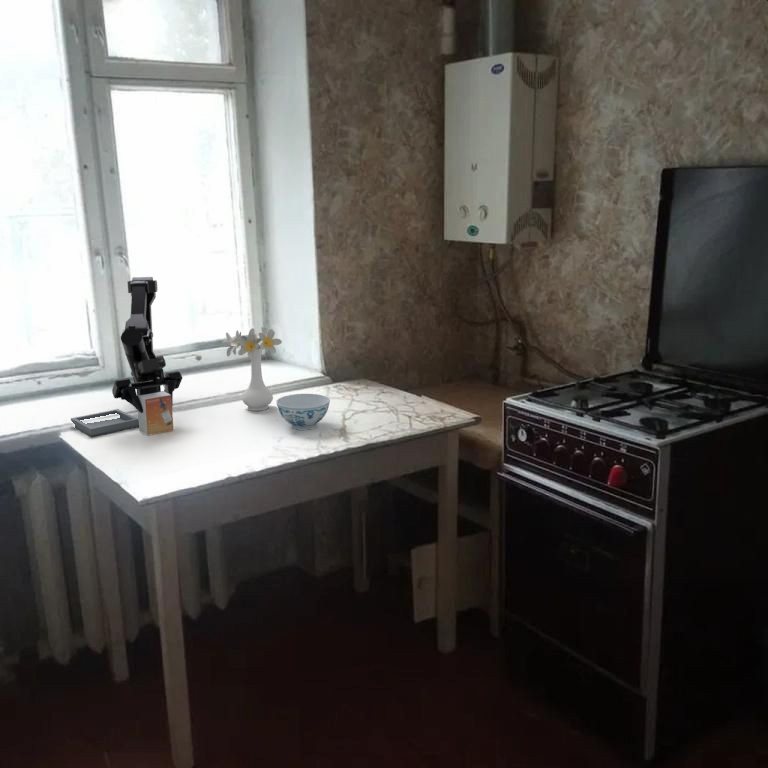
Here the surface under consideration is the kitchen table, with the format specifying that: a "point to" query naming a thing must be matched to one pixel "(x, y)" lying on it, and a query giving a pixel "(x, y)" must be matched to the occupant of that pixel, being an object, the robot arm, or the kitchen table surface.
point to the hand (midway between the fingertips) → (157, 409)
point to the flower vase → (254, 364)
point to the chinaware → (303, 409)
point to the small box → (155, 413)
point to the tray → (106, 423)
